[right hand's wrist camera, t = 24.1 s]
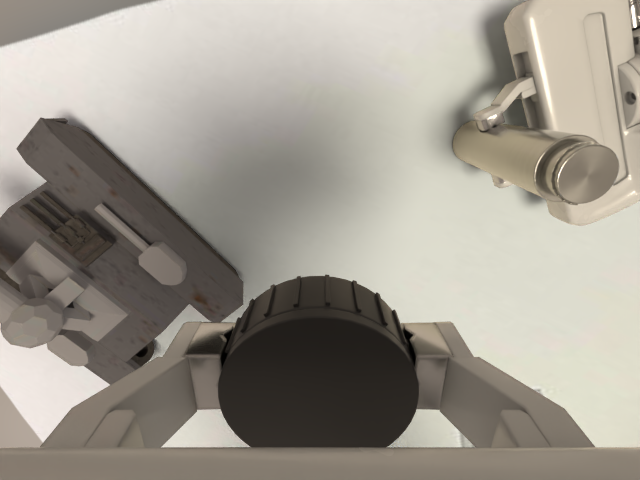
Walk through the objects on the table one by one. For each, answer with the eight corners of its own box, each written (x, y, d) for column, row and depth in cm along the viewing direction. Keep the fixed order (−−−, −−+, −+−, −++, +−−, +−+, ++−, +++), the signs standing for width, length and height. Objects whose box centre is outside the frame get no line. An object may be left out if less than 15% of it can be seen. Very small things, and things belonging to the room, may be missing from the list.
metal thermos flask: (458, 117, 35) (567, 132, 19) (499, 123, 35) (641, 143, 19) (447, 159, 37) (539, 205, 21) (486, 164, 37) (607, 214, 21)
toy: (251, 282, 42) (217, 370, 28) (148, 366, 47) (75, 477, 33) (76, 115, 35) (-87, 123, 21) (-25, 234, 40) (-212, 305, 26)
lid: (423, 386, 11) (443, 443, 9) (274, 426, 12) (266, 486, 10) (376, 247, 9) (389, 285, 7) (202, 306, 10) (175, 353, 8)
